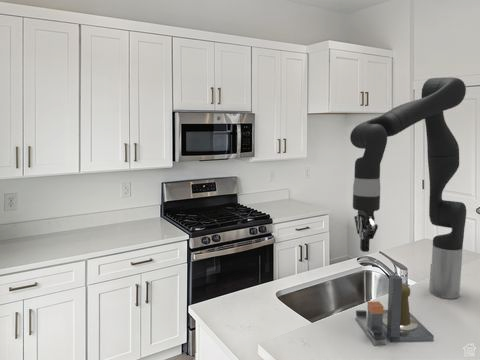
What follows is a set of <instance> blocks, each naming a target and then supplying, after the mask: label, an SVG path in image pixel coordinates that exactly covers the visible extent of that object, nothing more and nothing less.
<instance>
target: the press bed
mask: <svg viewBox="0 0 480 360" xmlns="http://www.w3.org/2000/svg"><path fill="white" fill-rule="evenodd" d="M402 284H403V277H401V276H400V275H397V274H396V275H395V274H394V275H393V274H390V275H388V296H387V298H388V299H387V309H384V310H383V322H382V332H383V334H385V335H386V339H387V340H388V341H389V342H390V343H402V342H403V343H404V342H405V343H407V342H408V343H409V342H434V341H435V340H434V337H435V336H434V334H432V332H431V331H429V329H427V328H426V327H425V325H423V324H422V323H421V322H420V321H419V320H418V319H417V318H416V317H415V316H414V315H413V314H412V313H411V312H410V324H409V325H407V326H400V319H401V297H402Z"/></svg>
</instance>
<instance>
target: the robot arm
mask: <svg viewBox="0 0 480 360" xmlns="http://www.w3.org/2000/svg"><path fill="white" fill-rule="evenodd" d="M466 94H467V88H466V84H465V82H464V80H462V79H460V78H458V77H451V76H450V77H432V78H431V77H430V78H428V79H427V80H426V81H425V82H424V83H423V85H422V89H421V97H420V98H419V99H415V100H411V101H409V102H405V103H403V104H400V105H398V106H395V107H393V108H391V109H390V110H388V111H387V112H385V113H383V114H382V115H380V116H377V117H373V118H371V119H368V120H366V121H364V122H360V123H359V124H358V125H356V126H355V127H354V128H353V129H352V131H351V132H350V136H349V138H350V142H351V144H352V145H353V146H354V147H355V148H357V149H362V150H363V149H364V153H363V155H362V156H361V157H358V158H356V159H355V161H354V179H353V186H352V208H353V210H356V211H357V215H355V216H354V217H353V218H354V223H355V227H356V233H357V235H359V239H360V241H359V244H360V245H359V246H360V247H359V250H360V251H361V252H362V253H368V252H370V240H373V239H374V238H375V235H376V233H377V230H378V228H379V225H378V224H376V223H375V219H376V218H375V214H374V213H375V212H377V211H379V210H380V207H381V206H380V205H381V162H382V160H383V157H384V153H385V151H386V147H387V143H388V137H393V136H396V135H397V134H399V133H401V132H403V131H405V130H406V129H408V128H410V127H411V126H413V125H415V124H417V123H419V122H422V121H423V120H424V121H425V122H424V123H425V129H426V130H425V131H426V143H427V144H426V145H427V146H426V147H427V165H428V166H427V167H428V179H429V199H428V200H429V201H428V202H429V204H428V214H429V215H428V218H429V222H430V223H431V225H433V226H436V227H440V228H441V227H443V228H449V229H451V230H450V231H451V232H449V233H446V234H445V233H444V234H439V235H435V236H434V237H433V238H432V252H431V263H430V269H429V270H430V271H429V276H430V277H429V287H428V288H429V292H430V293H431V294H432V296H433V295H434V296H436V297H438V298H441V299H447V300H449V299H450V300H453V299H459V298H460V293H461V292H460V291H461V281H462V279H461V277H462V267H463V266H462V265H463V264H462V263H463V248H464V245H463V244H464V238H465V237H464V236H465V229H466V221H467V220H466V219H467V207H466V204H465V203H464V202H461V201H454V200H453V201H452V200H444V199H443V192H444V189H445V188H446V186H447V184H448V183H449V181H451V179H452V178H453V177H454V175H455V174H456V173H457V171H458V170H459V167H460V146H459V143H458V141H457V139H456V137H455V135H454V134H453V133H452V131H451V129H450V128H449V126H448V124H447V122H446V120H445V115H444V111H447V110H450V109H453V108H456V107H457V106H459V105H460V104H461V103H462V102H463V100H464V99H465V97H466Z"/></svg>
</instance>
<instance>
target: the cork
mask: <svg viewBox="0 0 480 360" xmlns="http://www.w3.org/2000/svg"><path fill="white" fill-rule="evenodd" d="M410 296H411V288H410V286H409V285H407V284H404V283H402V297H401V319H400V326H407V325H409V324H410V313H411V312H410V304H409V303H410V302H409V297H410Z"/></svg>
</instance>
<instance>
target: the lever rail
mask: <svg viewBox="0 0 480 360" xmlns="http://www.w3.org/2000/svg"><path fill="white" fill-rule="evenodd" d="M355 320H356V321H357V323H358V325H359V326H360V327H361V328H362V330H363V331H364V333H365V334H366V335H367V338H369V340H370V341H371V343H372V345H374V346H386V343H387V337H386V335H385V334H384V333H383V334H373V335H372V334H371V333H370V331H369V330H368V328H367V322H368V310H366V309H364V310H362V309H361V310H355Z"/></svg>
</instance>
